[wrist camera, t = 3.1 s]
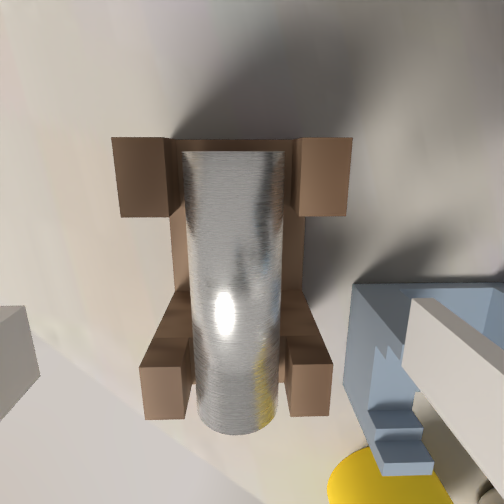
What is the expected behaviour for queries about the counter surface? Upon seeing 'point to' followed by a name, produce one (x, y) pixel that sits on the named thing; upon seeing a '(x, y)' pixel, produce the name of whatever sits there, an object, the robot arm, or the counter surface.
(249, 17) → the counter surface
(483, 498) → the metal bottle
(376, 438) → the blue notched cradle
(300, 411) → the bearing stand
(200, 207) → the steel axle
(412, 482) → the yellow hollow cylinder
